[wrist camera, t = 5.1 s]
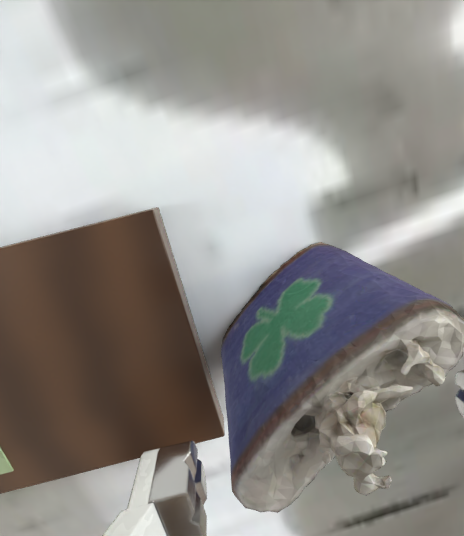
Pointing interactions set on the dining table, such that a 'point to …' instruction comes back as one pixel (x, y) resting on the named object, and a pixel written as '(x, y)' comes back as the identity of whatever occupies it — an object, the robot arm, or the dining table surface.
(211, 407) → the board
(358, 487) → the flask
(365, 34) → the dining table surface
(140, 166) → the dining table surface
